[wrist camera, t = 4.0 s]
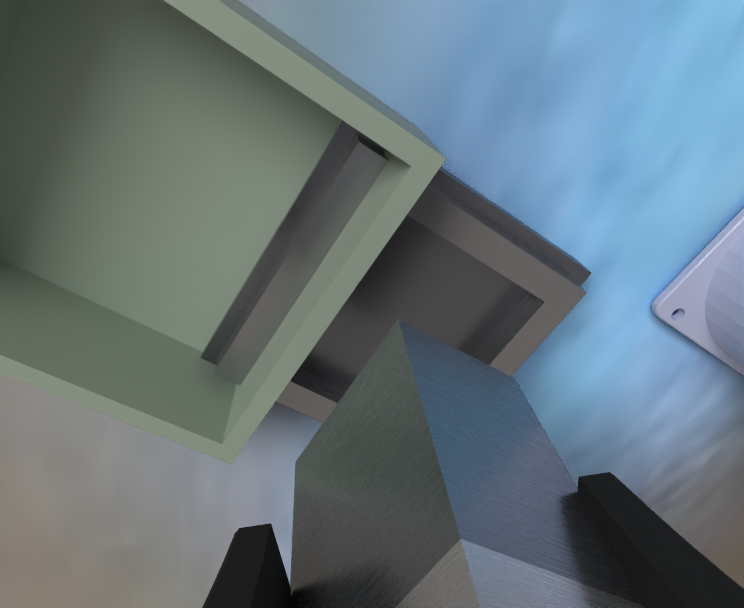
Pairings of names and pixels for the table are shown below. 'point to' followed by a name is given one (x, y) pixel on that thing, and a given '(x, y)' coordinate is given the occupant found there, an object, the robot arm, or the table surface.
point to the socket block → (398, 279)
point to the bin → (170, 203)
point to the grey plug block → (442, 495)
